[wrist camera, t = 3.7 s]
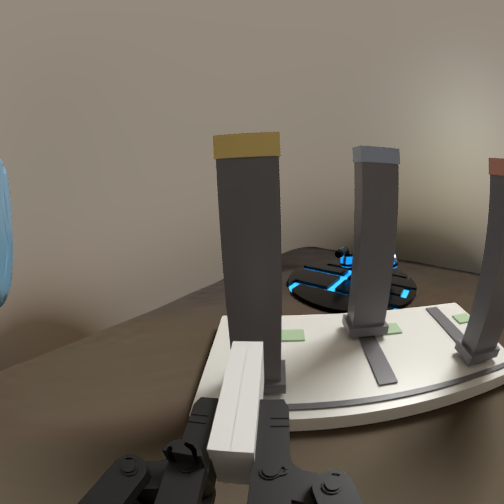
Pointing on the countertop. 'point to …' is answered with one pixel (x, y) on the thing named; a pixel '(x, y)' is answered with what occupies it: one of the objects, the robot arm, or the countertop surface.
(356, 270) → the slate paddle
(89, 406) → the countertop surface
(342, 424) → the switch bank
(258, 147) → the mustard paddle
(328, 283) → the platform
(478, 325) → the salmon tipped gray lever
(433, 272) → the countertop surface
